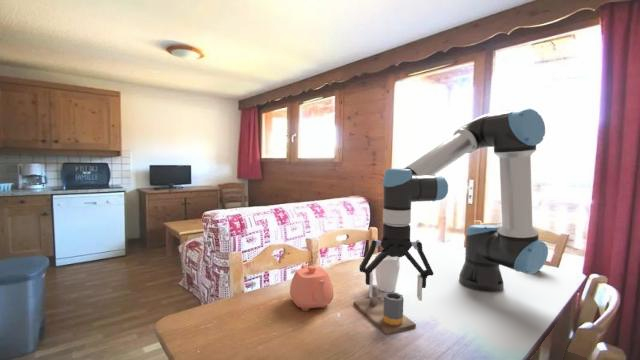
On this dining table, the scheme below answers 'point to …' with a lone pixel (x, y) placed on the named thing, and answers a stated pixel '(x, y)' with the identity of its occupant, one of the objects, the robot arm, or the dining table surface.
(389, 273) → the cup
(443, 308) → the dining table surface
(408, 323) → the pin board
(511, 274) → the dining table surface
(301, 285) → the teapot
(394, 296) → the sleeve
